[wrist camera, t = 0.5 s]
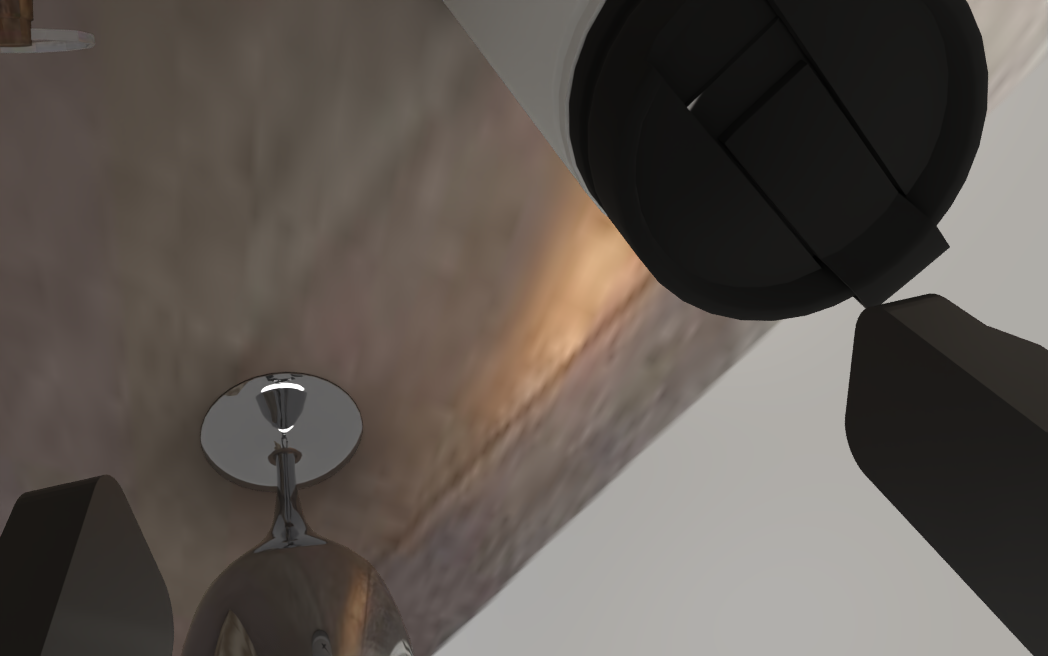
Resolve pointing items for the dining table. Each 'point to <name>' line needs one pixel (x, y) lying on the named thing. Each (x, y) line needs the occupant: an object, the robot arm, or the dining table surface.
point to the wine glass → (291, 532)
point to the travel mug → (754, 134)
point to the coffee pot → (35, 32)
